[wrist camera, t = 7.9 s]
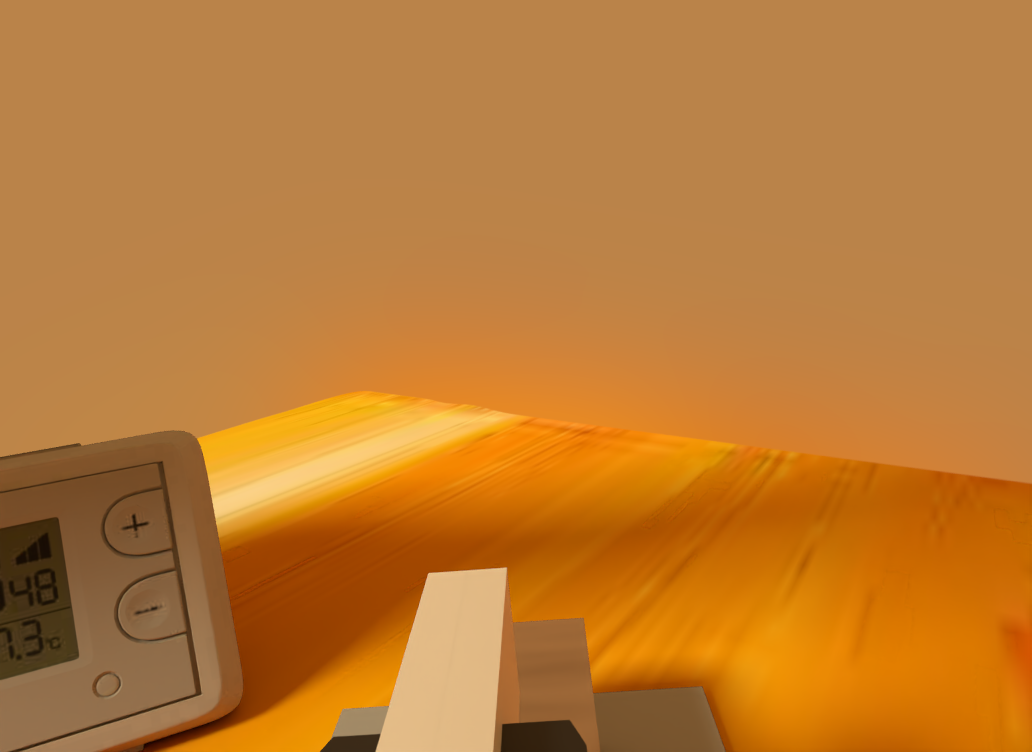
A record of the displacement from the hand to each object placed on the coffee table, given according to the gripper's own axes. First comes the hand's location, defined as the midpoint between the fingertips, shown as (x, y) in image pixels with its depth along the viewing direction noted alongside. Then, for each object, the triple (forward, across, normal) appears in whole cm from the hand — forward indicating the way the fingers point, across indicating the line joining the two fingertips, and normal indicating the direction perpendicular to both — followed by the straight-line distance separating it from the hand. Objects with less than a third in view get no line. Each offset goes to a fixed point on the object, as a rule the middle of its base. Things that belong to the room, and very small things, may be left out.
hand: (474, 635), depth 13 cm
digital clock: (+9, -18, -10) cm, 23 cm away
